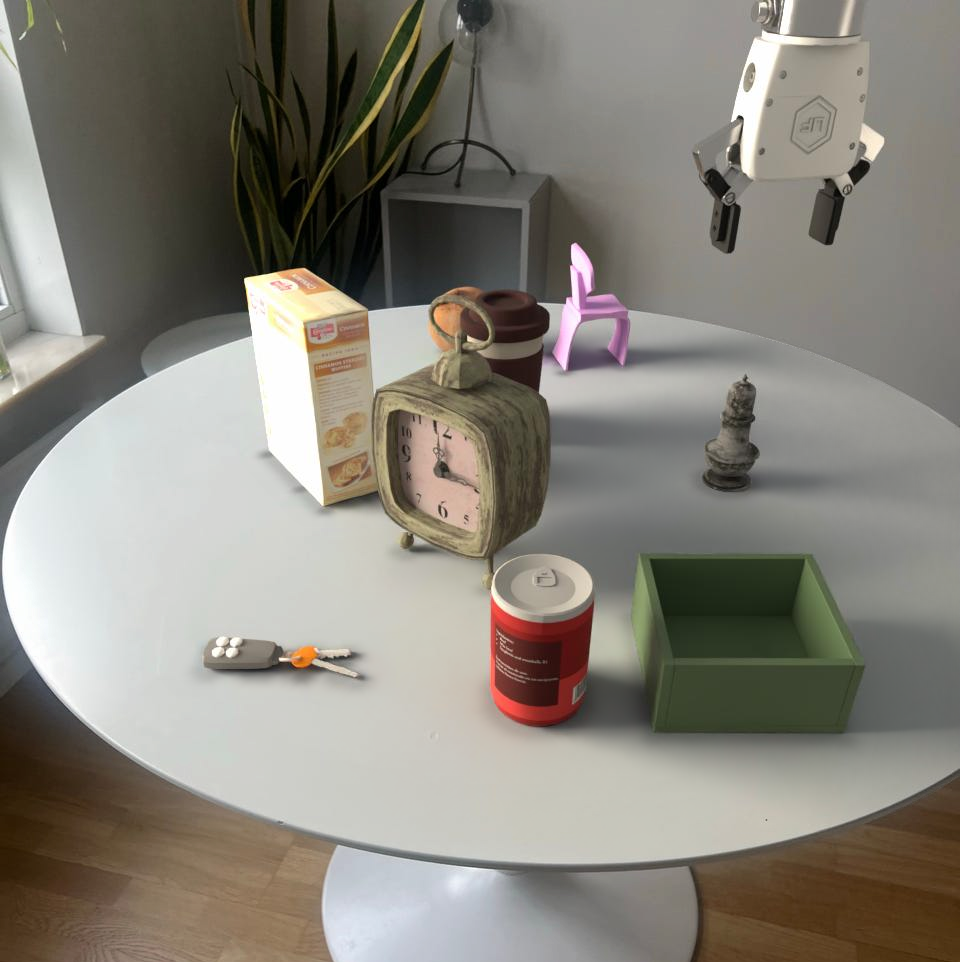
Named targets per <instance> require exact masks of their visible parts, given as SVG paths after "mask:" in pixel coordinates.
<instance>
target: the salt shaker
mask: <svg viewBox="0 0 960 962" xmlns="http://www.w3.org/2000/svg"><path fill="white" fill-rule="evenodd" d="M740 378H741V380H739V381H736V382H733V383H731V385H730V386H729V388H728V390H727V394H726V395H727V396H726V401H725V408H724V410H723V411H722V412H720V413H719V418H720V419H721V426H720V432H719V434H718V436H717V437H715V438H712V439H709V440H708V441H707V442H705V443H704V445H703V452H704V453H705V461H706V464H707V466H708V469H706V470H704V471H703V472H702V474H701V480H702V482H703V484H705V485H706V486H708V487H709V488H711V489H714V490H716V491H721V492H725V493H726V492H727V493H735V492H742V491H745V490H747V489H749V488H750V487H751V485H752V478H751V477H750V475H749V474H748V472H749V471H751V470H752V468H753V467H754V465H755V463H756V461H757V460H758V459H759V458H760V456H761V451H760V449H759V447H758V446H757V445H755V443H753V442H751V441H750V433H751V428H752V424H753V423H754V422H755V421H756V416H755V415H754V409H755V408H754V407H755V403H756V397H757V388H756V387H755V385H754V384H753V383H752V382H749V381H748V380H749V377H748V375H747V374H746V373H745V374H743V375H742V376H741V377H740Z"/></svg>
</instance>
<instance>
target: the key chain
mask: <svg viewBox="0 0 960 962" xmlns="http://www.w3.org/2000/svg"><path fill="white" fill-rule="evenodd" d="M351 655H352V650H351V648H342V649H341V648H339V649H338V648H337V649H323V650H322V649H319V648H317V647H316V646H315V645H314V646H313V645H307V646H303V647H301V648H299V649H298V650H297V651H296V652H294V651H293V652H292V651H288V652H286V653H285V655H284V648H283V646H282V645H277V643H276V642H275V641H270V640H264V639H252V638H242V637H239V636H236V637H227V636H220V637H219V636H218V637H212V638H211V639H210V640H209V641H207V644H206V646H205V648H204V651H203V653H202V657H201V660H202V665H203V667H204V668H205V669H210V670H255V669H259V670H260V669H261V670H262V669H268V668H271V667H272V666H275V665H276V666H277V665H278V664H279V663H280V662H289V663H291V664H292V665H293V666H295V667H296V668H302V669H303V668H307V667H309V666H310V665H314V666H317V667H320V668H324V669H327V670H330V671H332V672H335V673H340V674H343V675H346V676H350V677H354V678H357V677H358V676H359V673H358V672H355V671H353V670H350V669H347V668H346V667H343V666H338V665H335V664H332V663H331V662H328V661H323V659H326V657H327V659H334V657H335V658H340V657H344V658H347V657H348V656H351Z"/></svg>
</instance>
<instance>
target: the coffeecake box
mask: <svg viewBox="0 0 960 962" xmlns="http://www.w3.org/2000/svg"><path fill="white" fill-rule="evenodd" d="M244 287H245V291H246V299H247V307H248V312H249V319H250V326H251V332H252V340H253V347H254V353H255V354H254V355H255V361H256V367H257V373H258V375H257V376H258V382H259V389H260V395H261V401H262V407H263V414H264V421H265V429H266V436H267V442H268V443H267V444H268V450H269V451H270V453H272V455H273V456H274V457H275V458H276V459H277V460H278V461H279V462H280V463H281V464H282V465H283V466H284V467H285V468H286V469H287V471H289V472H290V474H292V475H293V477H294V478H295V479H296V480H297V481H298V482H299V483H300V484H301V485H302V486H303V487H304V488H305V489H306V490H307V491H308V493H310V494H311V495H312V496H313V497H314V499H316V500H317V501H318V503H320V504H321V505H322V507H326V506H329V505H333V504H336V503H339V502H343V501H346V500H350V499H353V498H357V497H361V496H365V495H369V494H372V493H375V492H378V488H377V484H376V477H375V469H374V462H373V454H372V424H371V418H372V406H373V400H374V397H375V394H374V380H373V366H372V353H371V351H372V350H371V339H370V337H371V336H370V325H369V308H367V307H365V306H364V305H362V304H361V303H359V302H357V301H356V300H355V299H353V298H352V297H350V296H349V295H347V294H345V293H344V292H342V291H340V290H339V289H337V288H336V287H335V286H333V285H331V284H330V283H329V282H327V281H326V280H324V279H322V278H321V277H319V276H318V275H316V274H315V273H314V272H312V271H310V270H309V269H307V268H305V267H299V268H293V269H286V270H281V271H276V272H272V273H267V274H261V275H255V276H249V277H244Z"/></svg>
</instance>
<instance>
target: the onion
mask: <svg viewBox="0 0 960 962" xmlns="http://www.w3.org/2000/svg"><path fill="white" fill-rule="evenodd" d="M484 292H485V291H484V290H483V289H481V288H478V287H473V286H462V287H455V288H453V289H451V290H449V291H447V292H445V293H444V294H443V295H445V294H453V295H459V296H462V297H466V298H468V299H470V300H472V301H474V299H475V298H476V297H477V296H478V295H480V294H481V293H484ZM464 308H465V306H462V305H459V304H455V303H447V302H446V303H442V304H440V305H439V306H438V307H436V309H435V311H434V319H435V322H436V324H437V325H438V326H439V327H440V328H441V329H442V330H443V331H445V332H446V333H448V334H449V335H451V336H453V337H455V333H456V331H458V330H461V327H460V314H461V311H462V310H463V309H464ZM428 331H429V334H430V337H431V339H432V340H433V342H434V343H435V345H436V346H437V348H439V349H440V350H441V351H442V353H444V352H446V351H448V350H451V349H454V348H455V346H453V345H451V344H449V343H447V342H446V341H444V340H443V339H442V338H441V337H439V336H438V335H437V334H436V332H435V331H434V329H433V328H432V326H431V323H430V321H429V320H428Z"/></svg>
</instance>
